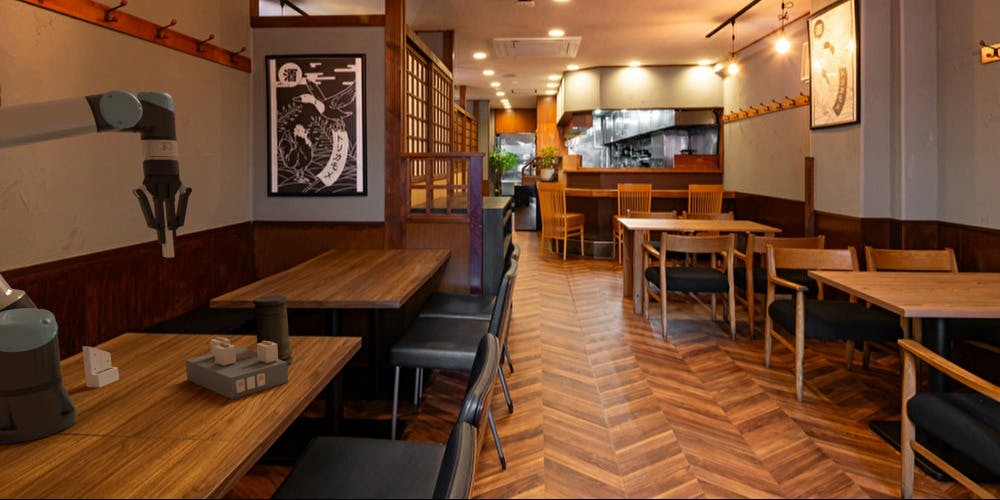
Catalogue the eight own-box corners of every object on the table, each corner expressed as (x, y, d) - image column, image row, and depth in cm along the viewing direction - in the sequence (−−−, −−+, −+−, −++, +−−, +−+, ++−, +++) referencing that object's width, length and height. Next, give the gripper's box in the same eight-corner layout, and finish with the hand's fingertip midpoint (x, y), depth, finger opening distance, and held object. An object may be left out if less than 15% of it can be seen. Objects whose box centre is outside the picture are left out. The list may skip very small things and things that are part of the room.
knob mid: (223, 365, 142) (222, 347, 142) (215, 362, 145) (214, 344, 144) (236, 362, 145) (234, 344, 144) (227, 359, 147) (226, 341, 147)
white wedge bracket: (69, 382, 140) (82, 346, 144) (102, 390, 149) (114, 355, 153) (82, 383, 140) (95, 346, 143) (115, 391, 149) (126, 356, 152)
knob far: (219, 358, 148) (218, 340, 148) (211, 355, 151) (210, 337, 150) (231, 355, 150) (230, 337, 150) (223, 352, 153) (222, 335, 152)
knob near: (266, 363, 144) (265, 344, 143) (257, 359, 146) (256, 341, 146) (278, 359, 146) (277, 341, 146) (269, 356, 149) (268, 339, 148)
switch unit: (233, 399, 135) (231, 378, 134) (187, 379, 149) (185, 359, 148) (289, 382, 146) (288, 362, 145) (241, 365, 160) (240, 346, 159)
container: (297, 359, 164) (294, 294, 162) (283, 369, 156) (278, 301, 153) (266, 358, 165) (262, 294, 163) (249, 369, 156) (245, 301, 154)
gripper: (137, 158, 136) (146, 261, 139) (195, 158, 146) (203, 255, 149) (124, 159, 141) (133, 258, 144) (181, 159, 151) (189, 252, 154)
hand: (168, 256), depth 147 cm, fingers closed
